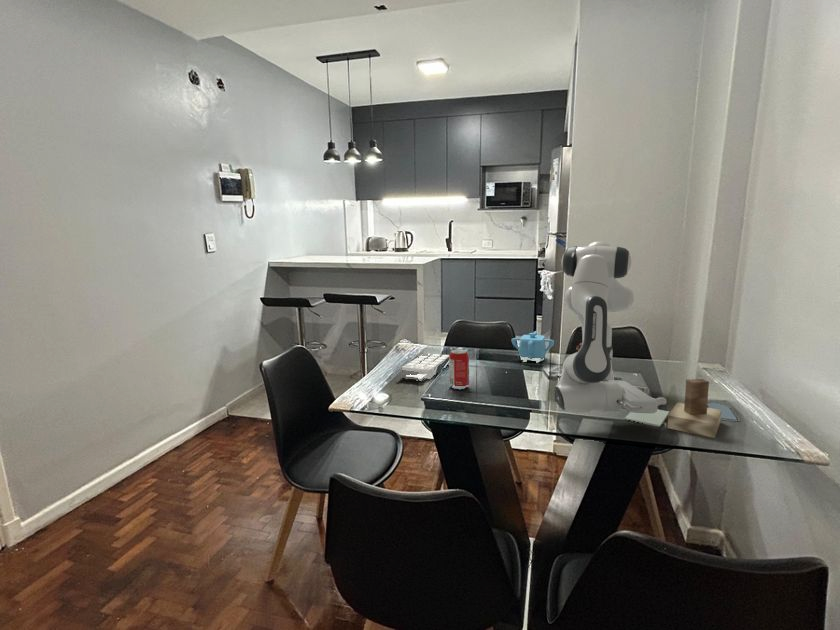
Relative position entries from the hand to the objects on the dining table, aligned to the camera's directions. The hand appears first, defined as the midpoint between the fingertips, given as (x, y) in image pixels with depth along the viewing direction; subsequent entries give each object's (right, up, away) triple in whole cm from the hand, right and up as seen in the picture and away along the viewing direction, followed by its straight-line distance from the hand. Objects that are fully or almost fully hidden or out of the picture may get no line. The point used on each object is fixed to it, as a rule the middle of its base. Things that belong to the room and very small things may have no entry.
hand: (656, 395), depth 136 cm
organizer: (-69, -2, +67) cm, 96 cm away
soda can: (-55, -5, +43) cm, 71 cm away
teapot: (-16, +2, +85) cm, 86 cm away
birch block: (+12, -9, +2) cm, 16 cm away
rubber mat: (+2, -8, +9) cm, 13 cm away
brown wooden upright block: (+12, -5, +1) cm, 14 cm away
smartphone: (+27, -8, +12) cm, 31 cm away
